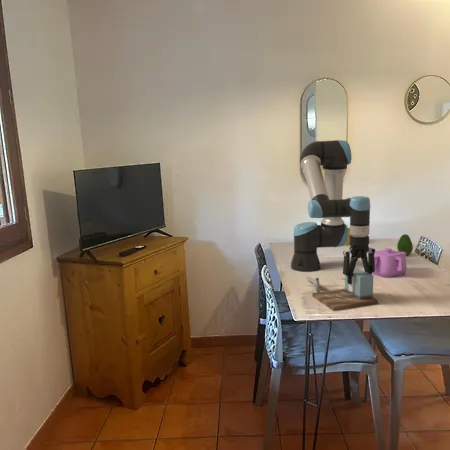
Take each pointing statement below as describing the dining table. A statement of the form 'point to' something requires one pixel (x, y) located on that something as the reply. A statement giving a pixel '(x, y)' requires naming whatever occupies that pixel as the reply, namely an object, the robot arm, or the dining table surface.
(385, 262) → the pink lidded pot
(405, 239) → the avocado
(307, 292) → the dining table surface
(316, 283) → the caliper
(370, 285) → the block
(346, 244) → the plant pot
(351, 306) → the board
